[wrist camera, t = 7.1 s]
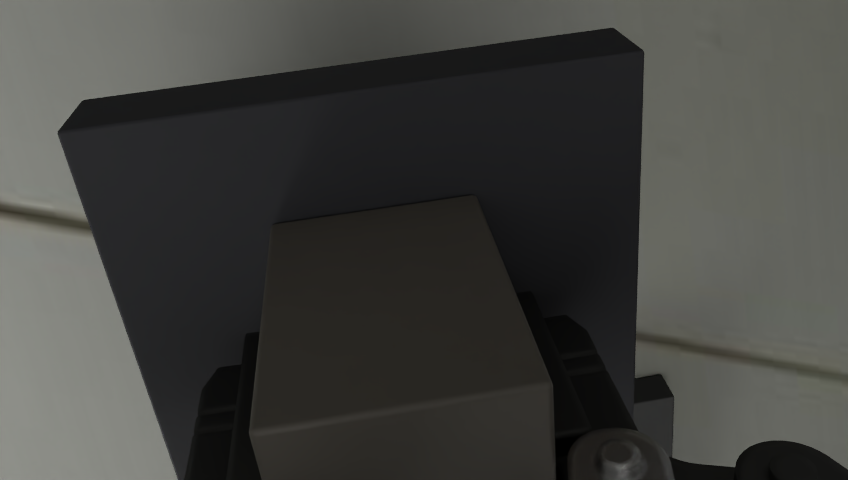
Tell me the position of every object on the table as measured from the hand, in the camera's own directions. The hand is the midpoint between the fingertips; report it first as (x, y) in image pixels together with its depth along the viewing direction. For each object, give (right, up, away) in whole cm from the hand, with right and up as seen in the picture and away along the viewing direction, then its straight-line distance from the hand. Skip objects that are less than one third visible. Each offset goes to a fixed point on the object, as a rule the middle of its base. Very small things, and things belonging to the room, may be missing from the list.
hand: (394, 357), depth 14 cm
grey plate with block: (0, 0, +3) cm, 3 cm away
